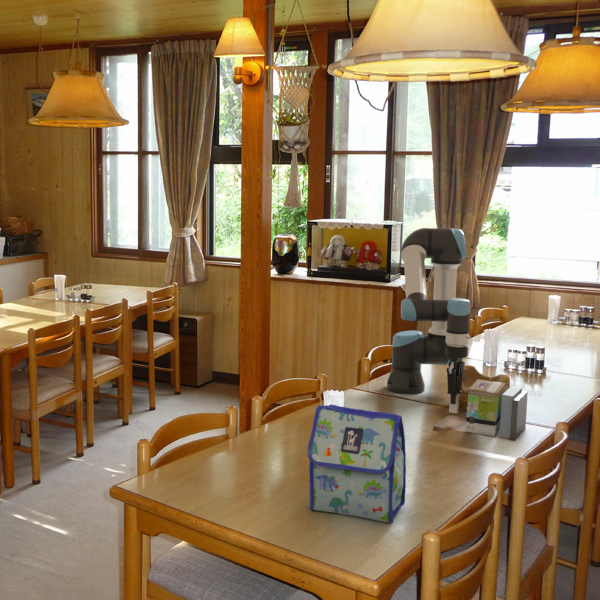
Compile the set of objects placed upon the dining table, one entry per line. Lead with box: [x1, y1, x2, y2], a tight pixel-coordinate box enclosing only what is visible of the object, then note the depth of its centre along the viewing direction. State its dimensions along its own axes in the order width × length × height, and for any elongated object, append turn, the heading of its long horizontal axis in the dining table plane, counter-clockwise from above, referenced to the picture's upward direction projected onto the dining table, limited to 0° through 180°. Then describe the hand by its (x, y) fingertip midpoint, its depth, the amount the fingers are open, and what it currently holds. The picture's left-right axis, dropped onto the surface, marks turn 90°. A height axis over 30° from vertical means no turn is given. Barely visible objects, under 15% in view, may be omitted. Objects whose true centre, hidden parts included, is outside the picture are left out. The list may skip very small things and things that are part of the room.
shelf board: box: [433, 414, 527, 442], centre depth 247 cm, size 27×15×1 cm, turn 60°
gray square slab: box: [510, 389, 529, 441], centre depth 239 cm, size 2×13×13 cm, turn 150°
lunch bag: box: [306, 403, 407, 524], centre depth 182 cm, size 22×17×26 cm
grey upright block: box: [500, 385, 523, 439], centre depth 240 cm, size 4×12×14 cm, turn 150°
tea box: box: [465, 379, 506, 436], centre depth 245 cm, size 15×10×15 cm, turn 155°
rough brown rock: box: [458, 364, 511, 413], centre depth 268 cm, size 23×17×15 cm
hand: (453, 412), depth 251 cm, fingers closed
